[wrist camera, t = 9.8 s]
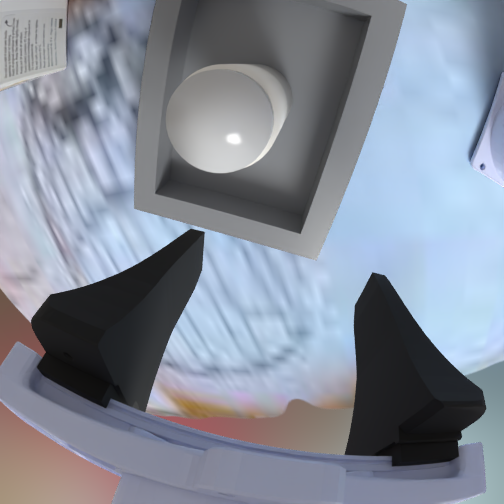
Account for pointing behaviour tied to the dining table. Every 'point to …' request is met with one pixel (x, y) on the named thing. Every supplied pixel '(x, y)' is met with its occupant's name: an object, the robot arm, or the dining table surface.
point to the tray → (295, 126)
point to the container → (31, 40)
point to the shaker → (228, 115)
